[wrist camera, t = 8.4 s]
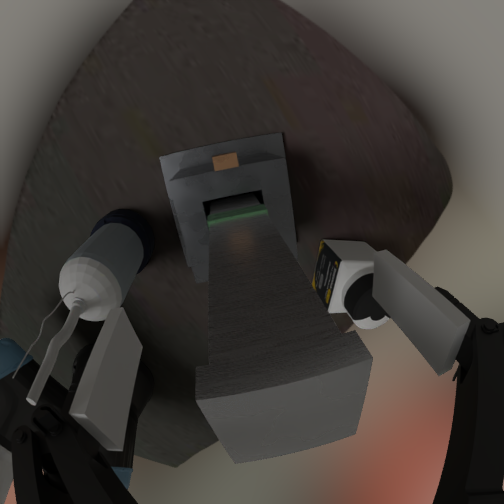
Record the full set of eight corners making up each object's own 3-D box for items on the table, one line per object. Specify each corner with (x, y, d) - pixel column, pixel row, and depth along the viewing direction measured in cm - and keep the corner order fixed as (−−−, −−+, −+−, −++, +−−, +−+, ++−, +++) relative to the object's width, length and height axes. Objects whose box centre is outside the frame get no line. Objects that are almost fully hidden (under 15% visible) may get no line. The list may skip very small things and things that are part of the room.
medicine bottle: (320, 238, 36) (361, 283, 26) (365, 240, 38) (414, 281, 27) (310, 285, 39) (343, 339, 28) (353, 284, 40) (393, 333, 29)
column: (217, 244, 27) (234, 463, 8) (206, 199, 25) (195, 400, 6) (263, 234, 28) (355, 434, 8) (255, 189, 26) (372, 357, 6)
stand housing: (188, 264, 35) (182, 306, 27) (160, 156, 30) (140, 165, 21) (295, 242, 36) (319, 276, 28) (280, 132, 30) (305, 132, 22)
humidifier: (114, 277, 35) (40, 435, 12) (86, 224, 31) (-38, 355, 9) (165, 257, 35) (116, 437, 12) (138, 198, 31) (17, 335, 8)
